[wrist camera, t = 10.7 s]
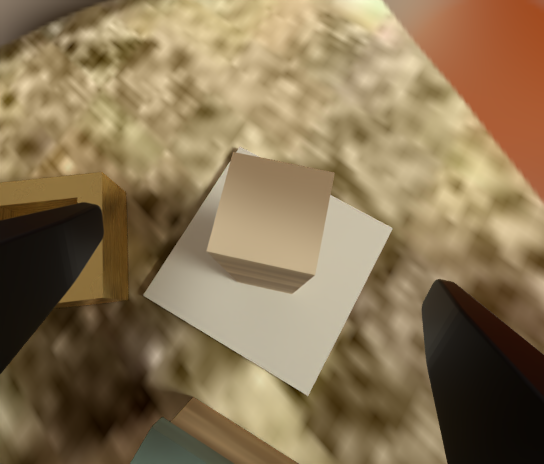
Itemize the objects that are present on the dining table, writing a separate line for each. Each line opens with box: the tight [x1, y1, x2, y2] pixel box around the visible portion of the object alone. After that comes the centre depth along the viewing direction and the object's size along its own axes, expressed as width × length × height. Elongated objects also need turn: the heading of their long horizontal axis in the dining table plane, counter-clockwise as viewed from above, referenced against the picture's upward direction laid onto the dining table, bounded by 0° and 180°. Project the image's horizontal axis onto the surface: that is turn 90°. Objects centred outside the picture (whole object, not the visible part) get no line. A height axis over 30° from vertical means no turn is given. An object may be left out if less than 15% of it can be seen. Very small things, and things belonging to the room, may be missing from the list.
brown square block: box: [207, 152, 334, 294], centre depth 14 cm, size 3×3×10 cm
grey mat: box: [143, 147, 393, 396], centre depth 19 cm, size 10×10×1 cm
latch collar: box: [0, 172, 129, 309], centre depth 18 cm, size 6×6×3 cm
